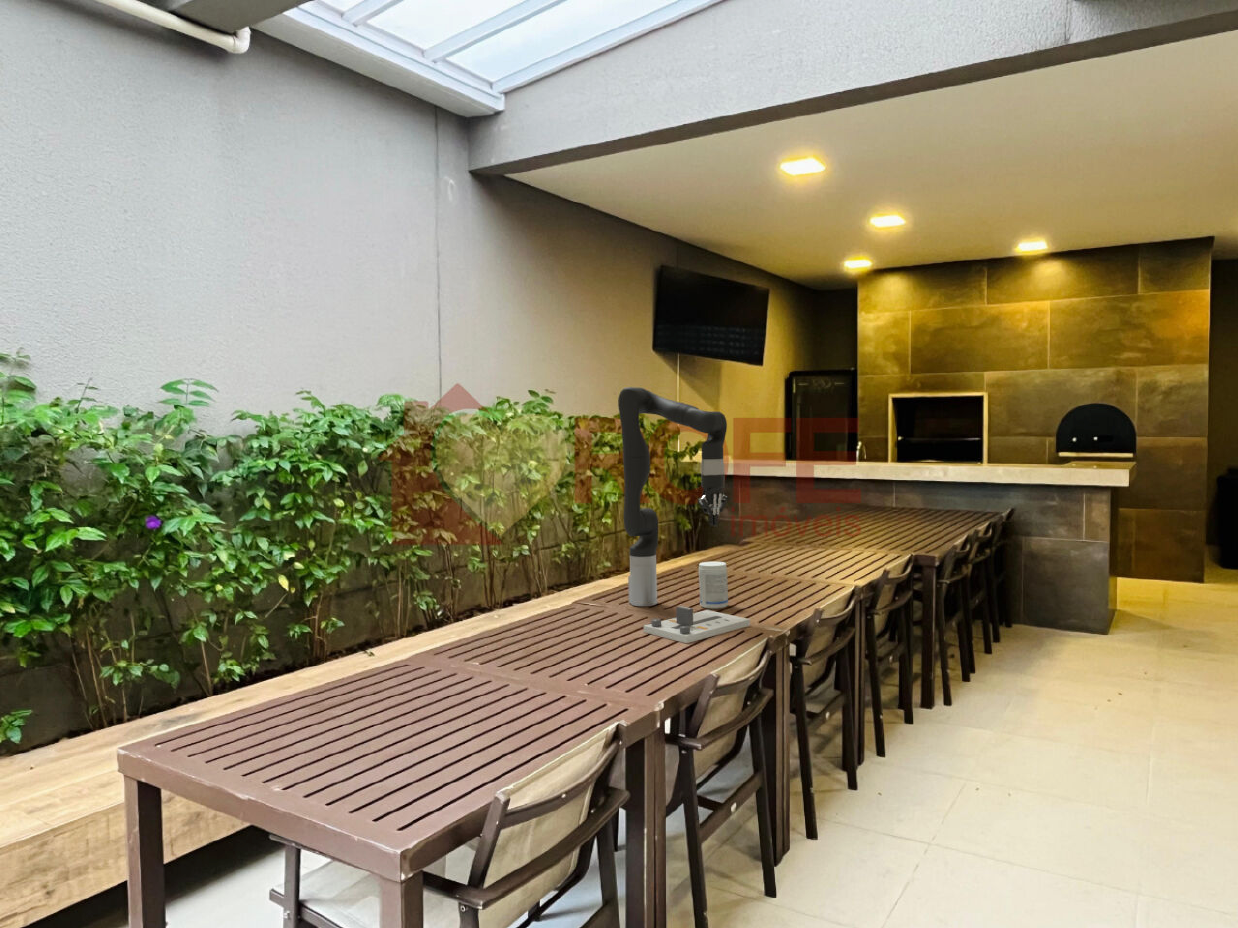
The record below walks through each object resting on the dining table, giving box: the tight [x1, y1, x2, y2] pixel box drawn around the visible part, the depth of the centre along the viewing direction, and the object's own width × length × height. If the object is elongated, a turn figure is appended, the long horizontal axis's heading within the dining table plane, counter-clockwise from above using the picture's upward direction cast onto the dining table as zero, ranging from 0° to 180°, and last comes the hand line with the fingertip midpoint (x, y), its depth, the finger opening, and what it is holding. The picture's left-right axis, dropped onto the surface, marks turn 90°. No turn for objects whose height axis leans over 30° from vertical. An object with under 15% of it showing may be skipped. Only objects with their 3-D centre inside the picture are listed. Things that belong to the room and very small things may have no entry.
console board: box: [643, 609, 751, 644], centre depth 251 cm, size 18×28×4 cm, turn 131°
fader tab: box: [675, 605, 694, 626], centre depth 248 cm, size 5×2×5 cm, turn 41°
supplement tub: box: [698, 561, 729, 610], centre depth 281 cm, size 10×10×15 cm
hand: (713, 525), depth 268 cm, fingers closed
